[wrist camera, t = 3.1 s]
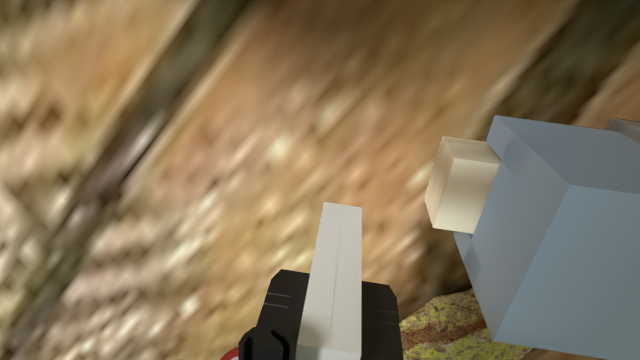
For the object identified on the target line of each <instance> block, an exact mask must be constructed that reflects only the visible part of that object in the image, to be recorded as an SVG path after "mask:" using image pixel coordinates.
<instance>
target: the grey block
mask: <svg viewBox="0 0 640 360" xmlns="http://www.w3.org/2000/svg"><path fill="white" fill-rule="evenodd" d="M486 142H487V143H488V144H489V146H490V147H491V148H492V149H493V151H494V152H495V153H496V154H497V155H498V157H499V158H500V159H501V163H500V166H499V168H498V171H497V174H496V176H495V179H494V181H493V184H492V187H491V189H490V192H489V195H488V197H487V200H486V202H485V205H484V208H483V210H482V213H481V216H480V218H479V221H478V223H477V226H476V229H475V231H474V234H471V233H464V232H458V231H454V234H453V236H454V239H455V241H456V244H457V247H458V249H459V252H460V255H461V257H462V260H463V263H464V265H465V268H466V271H467V273H468V276H469V279H470V281H471V284H472V287H473V289H474V292H475V295H476V298H477V300H478V303H479V306H480V308H481V311H482V314H483V316H484V319H485V322H486V324H487V327H488V330H489V332H490V335H491V338H492V340H493V341H496V342H502V343H508V344H514V345H521V346H527V347H533V348H539V349H545V350H551V351H558V352H564V353H570V354H576V355H582V356H588V357H595V358H601V359H607V360H640V144H639V143H638V142H636V141H634V140H632V139H630V138H628V137H627V136H625V135H623V134H621V133H619V132H615V131H608V130H600V129H593V128H586V127H578V126H571V125H564V124H556V123H549V122H542V121H534V120H527V119H520V118H512V117H505V116H498V115H495V116H494V119H493V122H492V125H491V128H490V131H489V133H488V136H487V139H486Z"/></svg>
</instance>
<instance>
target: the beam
mask: <svg viewBox="0 0 640 360" xmlns="http://www.w3.org/2000/svg"><path fill="white" fill-rule="evenodd" d="M605 130H608V131H615V132H619V133H621V134H623V135H625V136H627V137H628V138H630V139H632V140H634V141H636V142H638V143H639V144H640V122H638V121H631V120H623V119H616V118H610V120H609V122H608V124H607V126H606V128H605ZM500 163H501V159H500V158H499V157H498V155H497V154H496V153H495V152H494V151H493V149H492V148H491V147H490V146H489V144H488V143H487V142H483V141H476V140H469V139H462V138H454V137H447V136H442V139H441V142H440V146H439V149H438V153H437V156H436V160H435V163H434V167H433V170H432V174H431V177H430V181H429V184H428V188H427V191H426V195H425V198H424V199H425V203H426V206H427V209H428V213H429V216H430V219H431V223H432V226H433V228H438V229H444V230H451V231H458V232H464V233H471V234H474V231H475V229H476V226H477V223H478V221H479V218H480V216H481V213H482V210H483V208H484V205H485V202H486V200H487V197H488V195H489V192H490V189H491V187H492V184H493V181H494V179H495V176H496V174H497V171H498V168H499V166H500Z"/></svg>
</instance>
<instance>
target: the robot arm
mask: <svg viewBox="0 0 640 360" xmlns="http://www.w3.org/2000/svg"><path fill="white" fill-rule="evenodd" d="M238 360H404V358H403V350H402V341H401V332H400V326H399V315H398V306H397V298H396V296H395V295H394V293H393V291H392V290H391V288H390V286H389V285H384V284H378V283H372V282H365V281H362V208H361V207H354V206H348V205H341V204H334V203H328V202H324V204H323V209H322V214H321V220H320V225H319V230H318V235H317V241H316V246H315V251H314V257H313V262H312V267H311V272H310V274H309V273H302V272H296V271H290V270H283V269H281V270H280V271H279V272H278V273H277V274H276V275H275V276H274V277H273V278H272V279H271V282H270V285H269V288H268V291H267V294H266V298H265V301H264V305H263V307H262V310H261V313H260V316H259V319H258V322H257V325H256V327H254V328H252V329H250V330H249V331H248V332H246V333H245V334H244V335H243V337H242V338H241V340H240V342H239V355H238Z"/></svg>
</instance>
